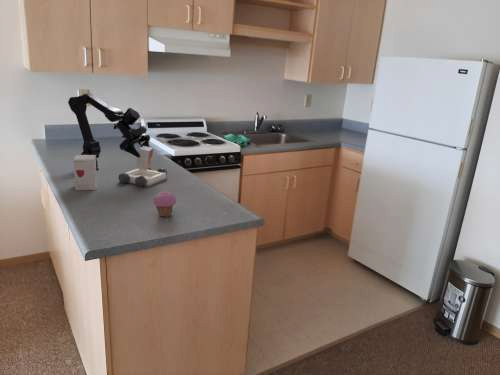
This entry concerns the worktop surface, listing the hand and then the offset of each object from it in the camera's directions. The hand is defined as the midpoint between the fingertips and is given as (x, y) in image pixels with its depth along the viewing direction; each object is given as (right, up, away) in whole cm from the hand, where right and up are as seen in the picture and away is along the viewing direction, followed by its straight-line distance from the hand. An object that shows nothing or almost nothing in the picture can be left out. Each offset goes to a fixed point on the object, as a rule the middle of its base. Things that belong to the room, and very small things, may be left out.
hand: (145, 155), depth 202 cm
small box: (-2, -6, +2) cm, 7 cm away
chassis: (-2, -12, +4) cm, 13 cm away
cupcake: (+18, -28, -39) cm, 51 cm away
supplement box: (-25, -16, -12) cm, 32 cm away
